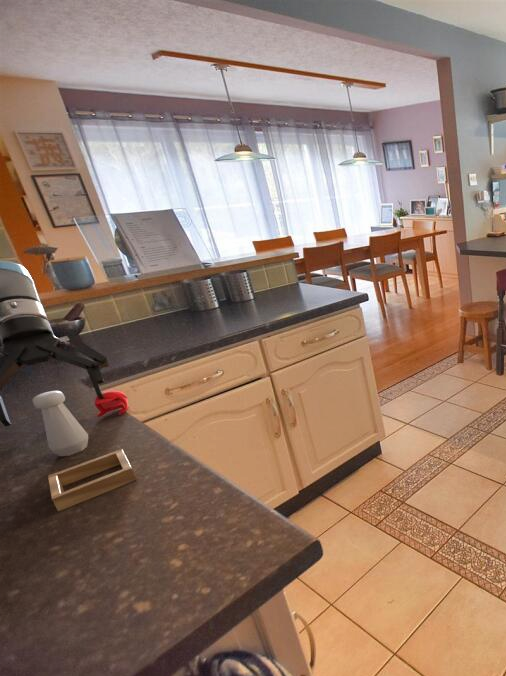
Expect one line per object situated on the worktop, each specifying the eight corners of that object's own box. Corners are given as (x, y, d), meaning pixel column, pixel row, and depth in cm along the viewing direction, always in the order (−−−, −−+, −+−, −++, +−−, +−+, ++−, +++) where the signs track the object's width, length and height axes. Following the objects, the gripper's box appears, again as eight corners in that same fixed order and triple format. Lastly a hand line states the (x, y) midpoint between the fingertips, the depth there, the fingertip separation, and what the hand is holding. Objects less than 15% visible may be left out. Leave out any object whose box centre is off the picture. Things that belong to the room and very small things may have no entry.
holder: (53, 487, 77) (47, 475, 76) (126, 459, 84) (122, 448, 83) (58, 511, 71) (51, 499, 70) (136, 479, 78) (131, 467, 77)
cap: (100, 412, 105) (91, 390, 103) (132, 404, 109) (123, 382, 107) (96, 424, 99) (86, 401, 97) (130, 415, 102) (120, 392, 100)
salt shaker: (61, 448, 90) (33, 391, 86) (96, 439, 93) (71, 384, 88) (48, 462, 85) (18, 403, 81) (86, 453, 88) (59, 395, 83)
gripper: (-80, 332, 81) (-50, 427, 76) (97, 301, 97) (131, 378, 93) (-61, 352, 86) (-32, 443, 81) (104, 320, 103) (137, 394, 98)
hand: (55, 409), depth 87 cm, fingers open, 13 cm apart
